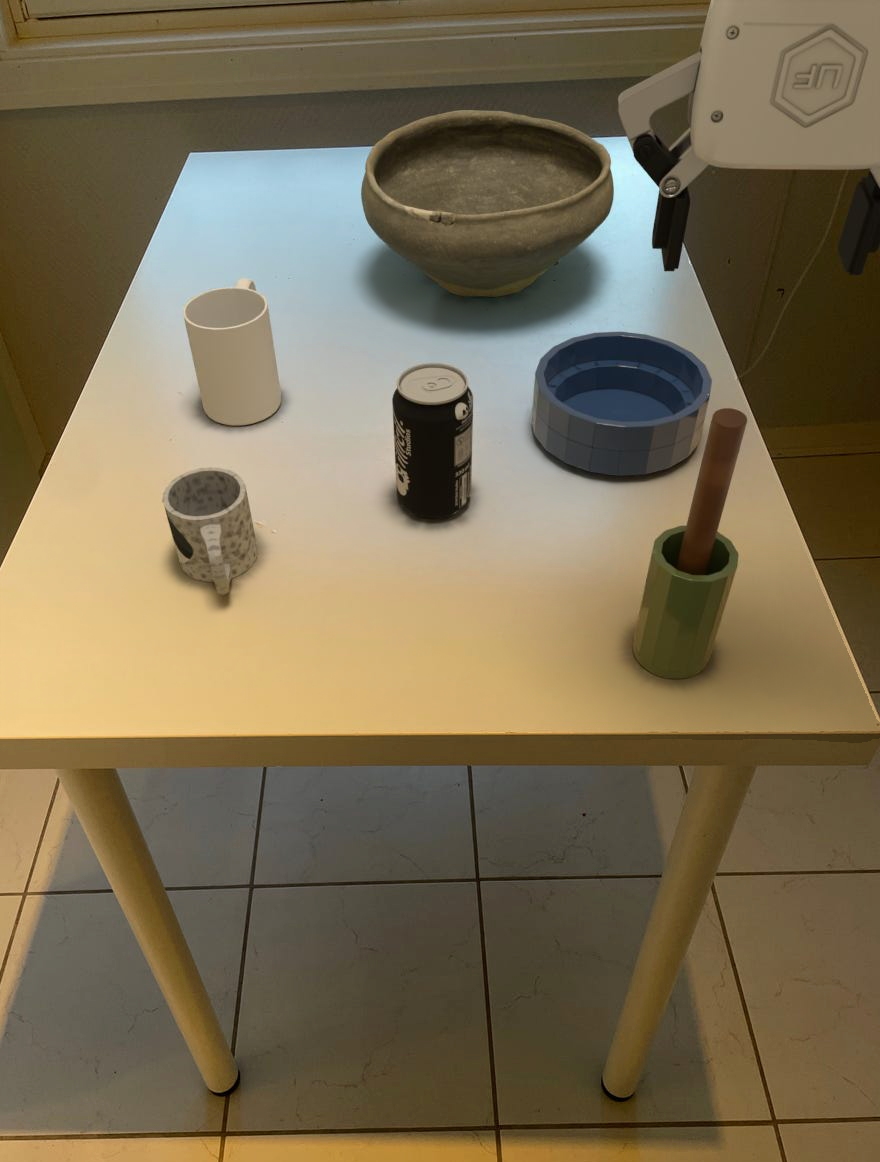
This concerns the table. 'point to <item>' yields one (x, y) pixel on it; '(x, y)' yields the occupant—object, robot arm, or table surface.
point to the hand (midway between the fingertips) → (757, 261)
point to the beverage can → (433, 439)
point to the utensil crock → (682, 607)
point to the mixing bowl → (620, 402)
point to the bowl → (486, 197)
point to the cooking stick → (711, 489)
